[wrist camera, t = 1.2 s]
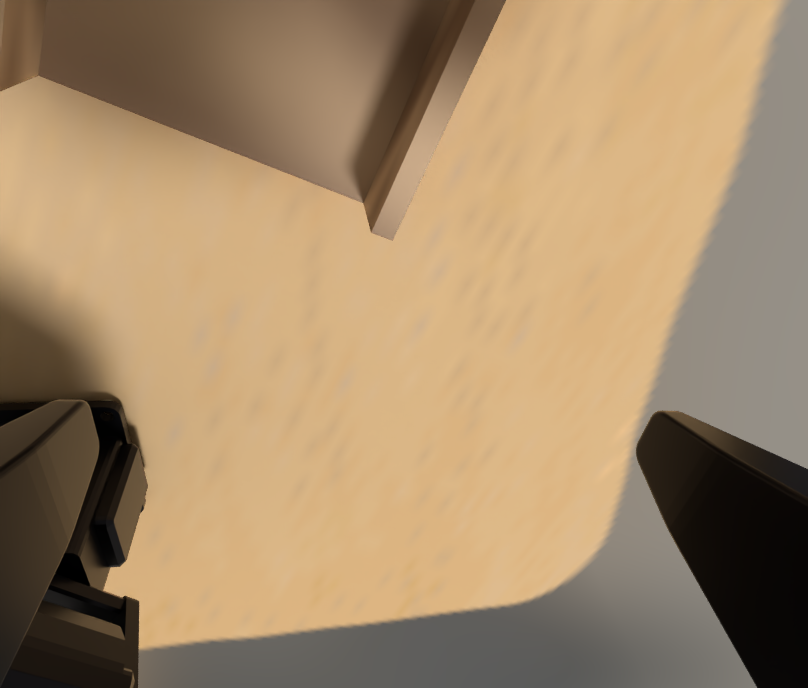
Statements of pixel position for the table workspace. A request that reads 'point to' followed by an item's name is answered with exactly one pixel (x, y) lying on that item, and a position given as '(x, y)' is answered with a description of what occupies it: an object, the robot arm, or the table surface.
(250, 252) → the table surface
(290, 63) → the holder
